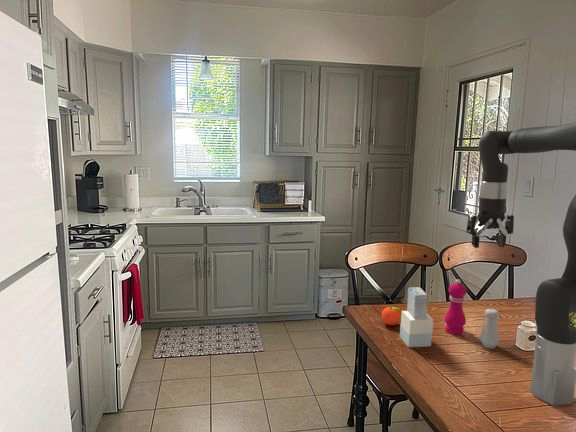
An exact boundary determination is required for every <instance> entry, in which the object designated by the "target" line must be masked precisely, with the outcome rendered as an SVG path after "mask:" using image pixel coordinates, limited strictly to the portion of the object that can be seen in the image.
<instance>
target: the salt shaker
mask: <svg viewBox="0 0 576 432" xmlns="http://www.w3.org/2000/svg"><path fill="white" fill-rule="evenodd" d="M484 316H485V321H484V324H483V328H482V330H481V332H480V335H479V339H480V342H481V345H482V347H484V348H486V349H489V350H490V349H492V350H494V349H495V348H496V347H497V346H498V344H499V343H500V337H499V329H498V320H497V319H498V318H499V316H500V313H499V311H498V310H497V309H494V308H487V309H485V311H484Z"/></svg>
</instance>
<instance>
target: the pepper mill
mask: <svg viewBox="0 0 576 432" xmlns="http://www.w3.org/2000/svg"><path fill="white" fill-rule="evenodd" d="M448 294H449V298H448V299H449V301H450V304H449V307H448V310H447V311H446V313H445V316H444V322H445V325H444V327H445V328H444V330H445V331H446V332H447V333H448V334H451V335H453V336H454V335H456V336H457V335H458V336H459V335H463V334H464V330H465V328H464V326H465V325H466V324H467V323H466V315H465V312H464V310H463V303H464V302H465V297H464V296H466V294H467V288H466V286H465V285H464V284H463V283H461V279H455V282H454V283H451V284H450V285H449V287H448Z"/></svg>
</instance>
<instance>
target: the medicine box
mask: <svg viewBox="0 0 576 432" xmlns="http://www.w3.org/2000/svg"><path fill="white" fill-rule="evenodd" d="M428 296H429V295H428V294H427V293H426V292H425V291H424V290H423V289H422V288H421V287H417V286H414V287H408V289H407V303H406V304H407V305H406V307H407V308H406V311H408V312H409V313H410V314H411V315H412V317H413V318H414V319H427V314H428V302H429V301H428Z"/></svg>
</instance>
